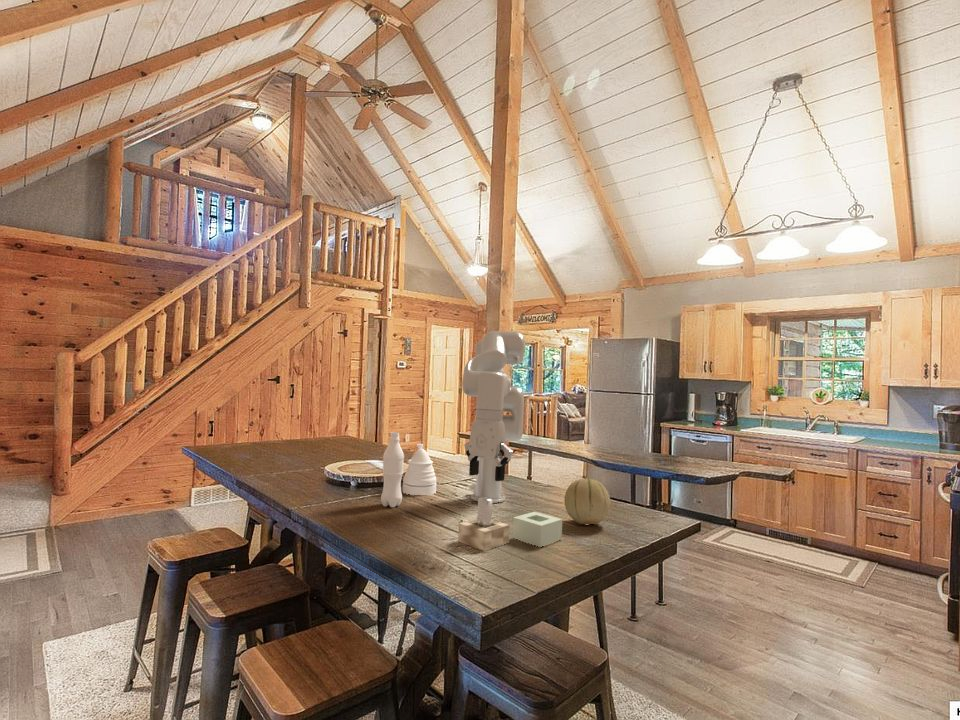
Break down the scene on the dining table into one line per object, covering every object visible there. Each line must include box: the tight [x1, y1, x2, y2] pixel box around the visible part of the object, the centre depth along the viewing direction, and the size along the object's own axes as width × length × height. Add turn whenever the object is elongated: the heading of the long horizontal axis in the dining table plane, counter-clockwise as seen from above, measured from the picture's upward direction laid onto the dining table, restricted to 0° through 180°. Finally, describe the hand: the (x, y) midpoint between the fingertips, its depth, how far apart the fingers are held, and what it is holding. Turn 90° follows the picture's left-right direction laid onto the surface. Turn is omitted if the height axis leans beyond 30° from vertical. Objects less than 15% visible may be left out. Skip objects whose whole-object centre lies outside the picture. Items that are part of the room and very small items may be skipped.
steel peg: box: [476, 497, 494, 528], centre depth 143 cm, size 4×4×12 cm
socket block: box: [457, 518, 511, 552], centre depth 143 cm, size 10×10×5 cm
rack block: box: [512, 511, 563, 548], centre depth 147 cm, size 10×10×6 cm
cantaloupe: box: [564, 475, 611, 525], centre depth 165 cm, size 15×15×15 cm
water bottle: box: [380, 431, 405, 508], centre depth 177 cm, size 7×7×25 cm
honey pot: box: [402, 443, 437, 496], centre depth 199 cm, size 13×13×18 cm
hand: (486, 477), depth 143 cm, fingers open, 9 cm apart
